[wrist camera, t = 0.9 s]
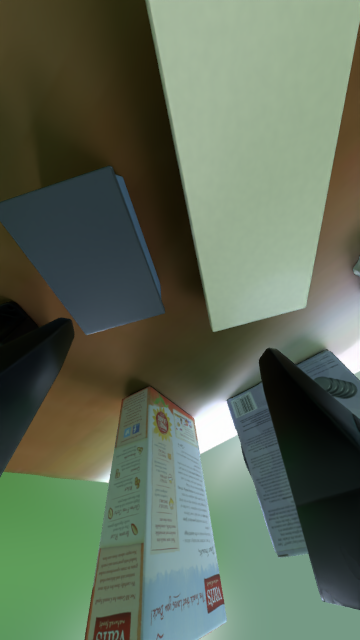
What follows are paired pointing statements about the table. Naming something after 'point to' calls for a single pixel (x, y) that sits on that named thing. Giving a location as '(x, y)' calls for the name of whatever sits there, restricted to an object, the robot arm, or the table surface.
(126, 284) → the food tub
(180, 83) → the cream lidded box
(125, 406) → the cracker box
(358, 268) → the egg carton
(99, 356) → the table surface
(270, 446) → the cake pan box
